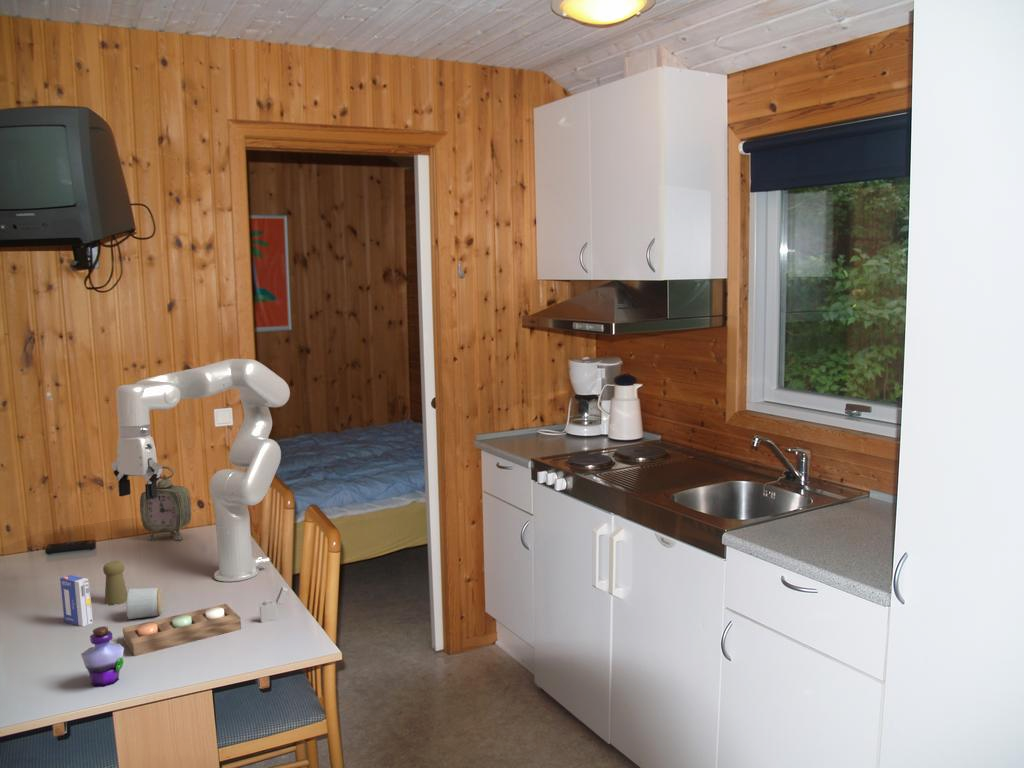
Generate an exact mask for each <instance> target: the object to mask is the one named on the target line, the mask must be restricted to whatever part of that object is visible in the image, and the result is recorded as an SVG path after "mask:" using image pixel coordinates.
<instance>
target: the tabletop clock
mask: <svg viewBox="0 0 1024 768" xmlns="http://www.w3.org/2000/svg"><path fill="white" fill-rule="evenodd" d="M161 467H162V468H163V469H167V470H169V471H170V472H171V475H170V476H167V475H166V474H162V476H161V477H160V478H159V481H158V482H157V497H156V498H152V499H146V490H145V491H144V492H141V495H140V499H139V507H140V508H139V512H140V518H141V522H142V526H143V528H144V529H145V530H147V531H150V532H152V533H151V534H150V535H149V536H148V540H149V541H152V540H153V539H154V535H155V533H169V535H170V536H171V537H175V536H176V533H177V540H178V541H182V540H183V536H182V535H181V533H180V529H182V528H184V527H186V526H187V525H189V524H190V523H191V521H192V500H191V495H190V492H189V489H188V488H187V487H185V486H182V485H174V484H173V482H172V481H171V480H170V478H172V477H173V476H174V470H173V469H172V468H170V467H169V466H164V465H163V466H162V465H161ZM160 479H161V480H160Z"/></svg>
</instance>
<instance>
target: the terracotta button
mask: <svg viewBox="0 0 1024 768" xmlns="http://www.w3.org/2000/svg"><path fill="white" fill-rule="evenodd" d="M153 633H158V628H157V624H154V623H149V624H144V625H141V626H139V627H138V637H141V636H145V635H149V634H153Z"/></svg>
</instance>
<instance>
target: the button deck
mask: <svg viewBox="0 0 1024 768" xmlns="http://www.w3.org/2000/svg"><path fill="white" fill-rule="evenodd" d="M212 608H223V609H224V617H220V618H215V619H211V620H207V619H206V611H207V610H209V609H212ZM183 615H188V616H191V620H192V624H191V625H187V626H182V627H178V628H173V623H172V620H173V619H174V618H175V617H178V616H183ZM149 623H154V624H157V628H158V633H153V634H149V635H145V636H141V637H138V627H139V626H141V625H144V624H149ZM239 630H242V620H241V616H240V615H238V613H236V612H235V611H234V610H233V609H232V608H231V607H230V606H229V605H228V604H227V603H224V604H219V605H215V606H209V607H205V608H202V609H198V610H194V611H189V612H185V613H181V614H177V615H176V614H175V615H172V616H168V617H167V616H166V617H163V618H159V619H155V620H151V621H146V622H141V623H138V624H134V625H129V626H125V627H122V633H123V634H122V635H123V636H122V637H123V641H124V642H125V645H127V647H128V649H129V650H130V652H131V653H132V654H133V656H134V657H136V656H140V655H144V654H149V653H151V652H152V653H153V652H156V651H160V650H165V649H168V648H172V647H176V646H181V645H184V644H188V643H192V642H195V641H200V640H204V639H207V638H212V637H215V636H219V635H223V634H228V633H231V632H235V631H239Z"/></svg>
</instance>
